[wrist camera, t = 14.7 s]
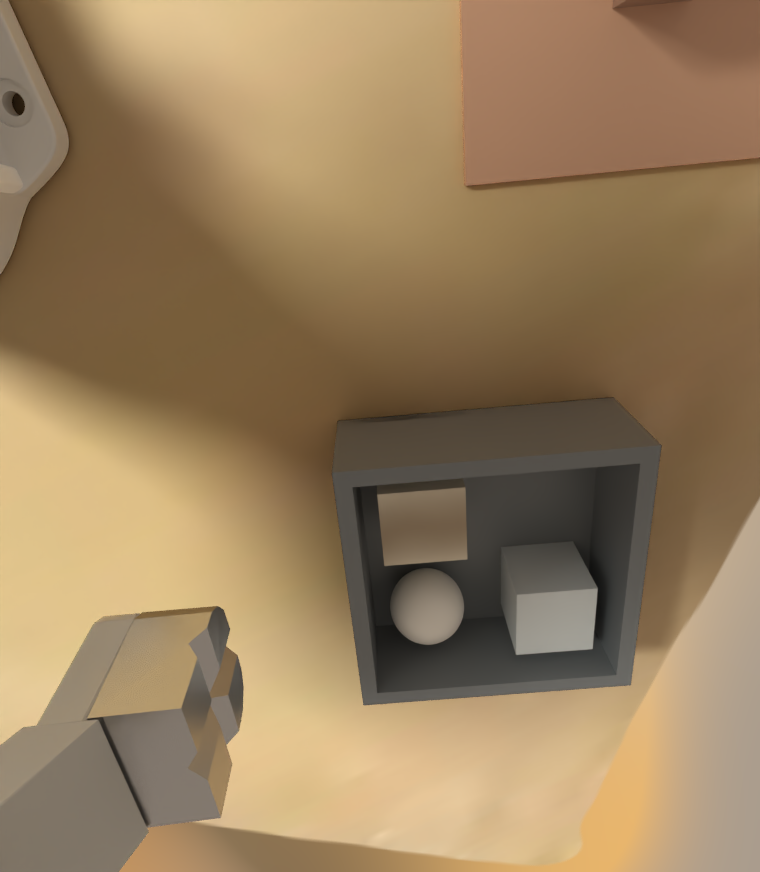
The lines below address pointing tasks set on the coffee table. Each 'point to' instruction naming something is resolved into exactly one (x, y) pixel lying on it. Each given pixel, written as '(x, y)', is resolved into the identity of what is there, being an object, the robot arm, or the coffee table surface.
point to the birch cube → (423, 521)
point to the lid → (606, 85)
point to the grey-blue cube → (547, 598)
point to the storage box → (500, 539)
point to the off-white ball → (427, 606)
